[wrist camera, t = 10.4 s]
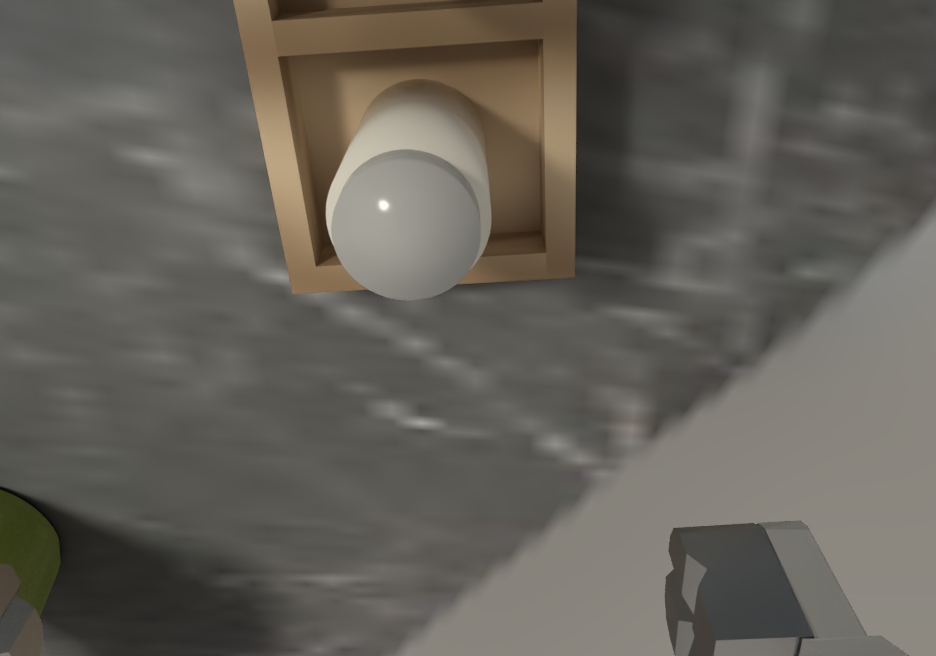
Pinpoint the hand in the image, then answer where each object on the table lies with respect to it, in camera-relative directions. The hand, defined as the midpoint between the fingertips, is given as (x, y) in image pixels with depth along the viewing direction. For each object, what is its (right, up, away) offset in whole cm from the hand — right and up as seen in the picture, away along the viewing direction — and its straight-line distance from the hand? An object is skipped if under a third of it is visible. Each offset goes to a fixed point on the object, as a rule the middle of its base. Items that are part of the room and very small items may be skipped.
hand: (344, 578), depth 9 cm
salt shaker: (0, +9, +17) cm, 19 cm away
